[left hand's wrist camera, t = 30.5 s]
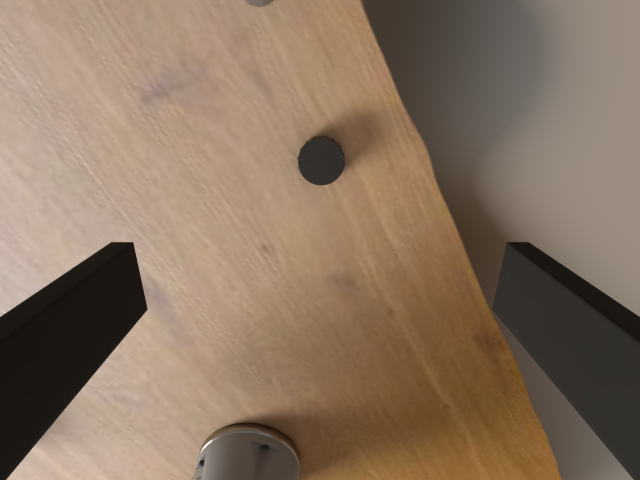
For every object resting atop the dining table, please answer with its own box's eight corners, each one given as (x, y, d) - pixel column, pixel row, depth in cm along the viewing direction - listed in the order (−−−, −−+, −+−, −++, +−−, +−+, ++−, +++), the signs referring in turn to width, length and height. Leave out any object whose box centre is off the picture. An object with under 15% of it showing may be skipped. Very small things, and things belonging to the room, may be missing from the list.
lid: (290, 149, 36) (289, 151, 34) (331, 127, 35) (332, 129, 33) (311, 188, 38) (311, 193, 36) (350, 169, 37) (352, 172, 35)
